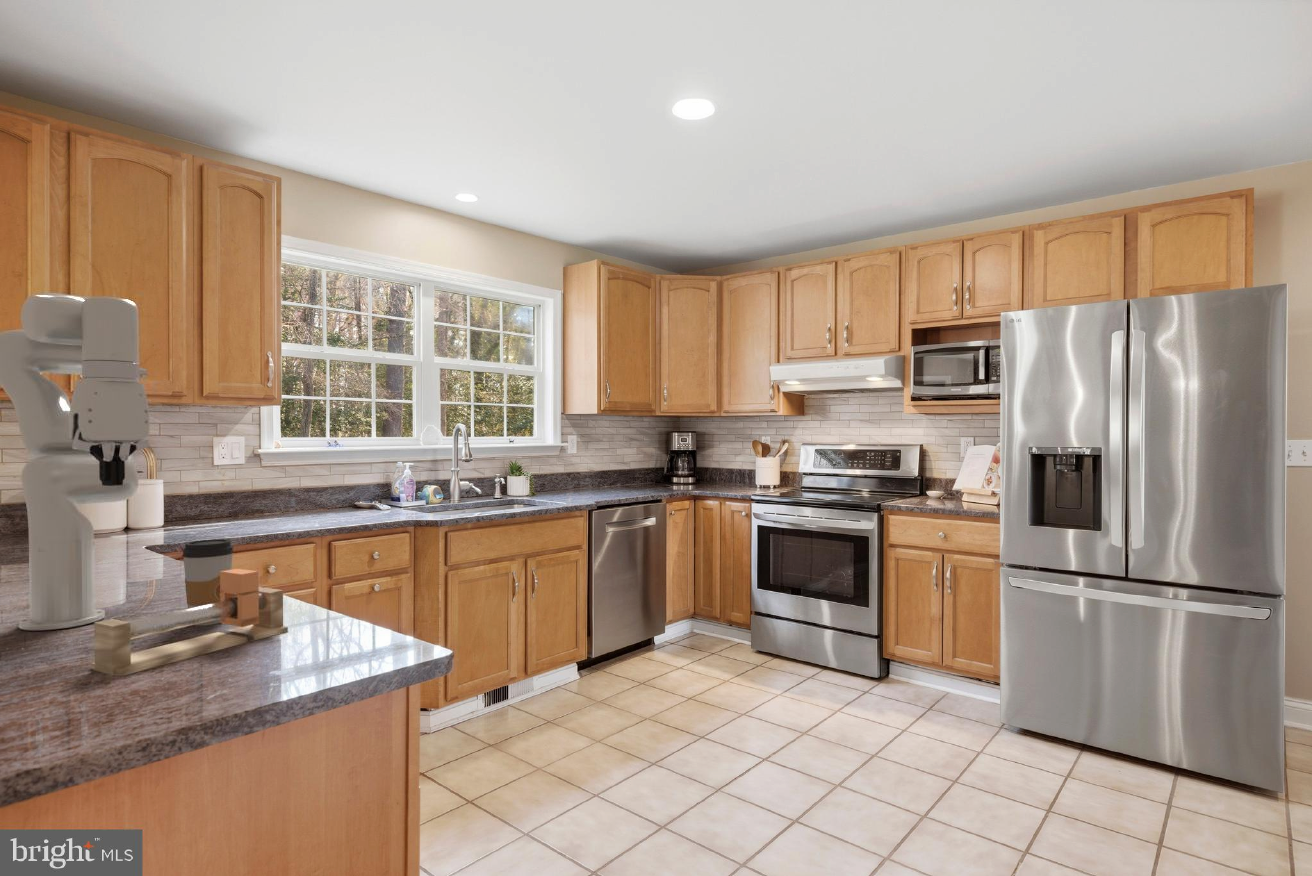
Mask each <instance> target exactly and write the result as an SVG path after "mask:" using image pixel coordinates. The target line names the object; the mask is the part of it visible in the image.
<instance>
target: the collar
mask: <svg viewBox="0 0 1312 876" xmlns="http://www.w3.org/2000/svg"><path fill="white" fill-rule="evenodd" d="M259 589H260V588H259V571H258V570H249V569H243V568H234V569H233V568H232V570H226V571H220V602H221V601H226V600H229V599H231V598H235V597H238V616H235V617H232V616H230V617H225V618H221V623H220V624H223V625H228V626H233V627H245V626H249V625H253V624H257V623H259Z"/></svg>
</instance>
